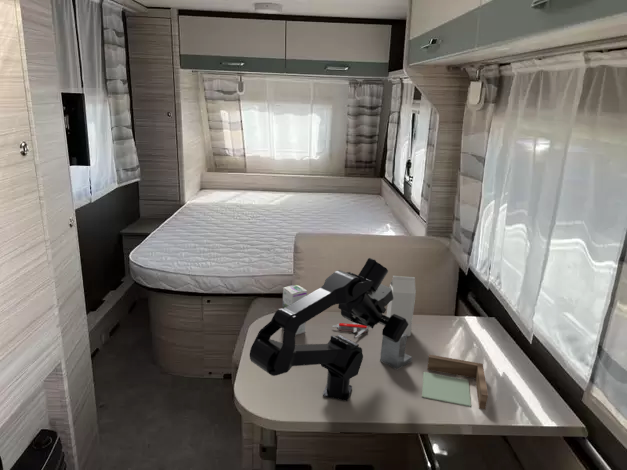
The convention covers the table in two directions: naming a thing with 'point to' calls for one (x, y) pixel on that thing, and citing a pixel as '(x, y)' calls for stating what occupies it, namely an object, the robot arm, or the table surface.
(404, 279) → the milk carton
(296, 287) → the syrup box
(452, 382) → the mat
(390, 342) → the gray block
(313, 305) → the robot arm
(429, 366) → the brown wooden corner wall
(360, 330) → the swiss army knife
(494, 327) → the table surface
